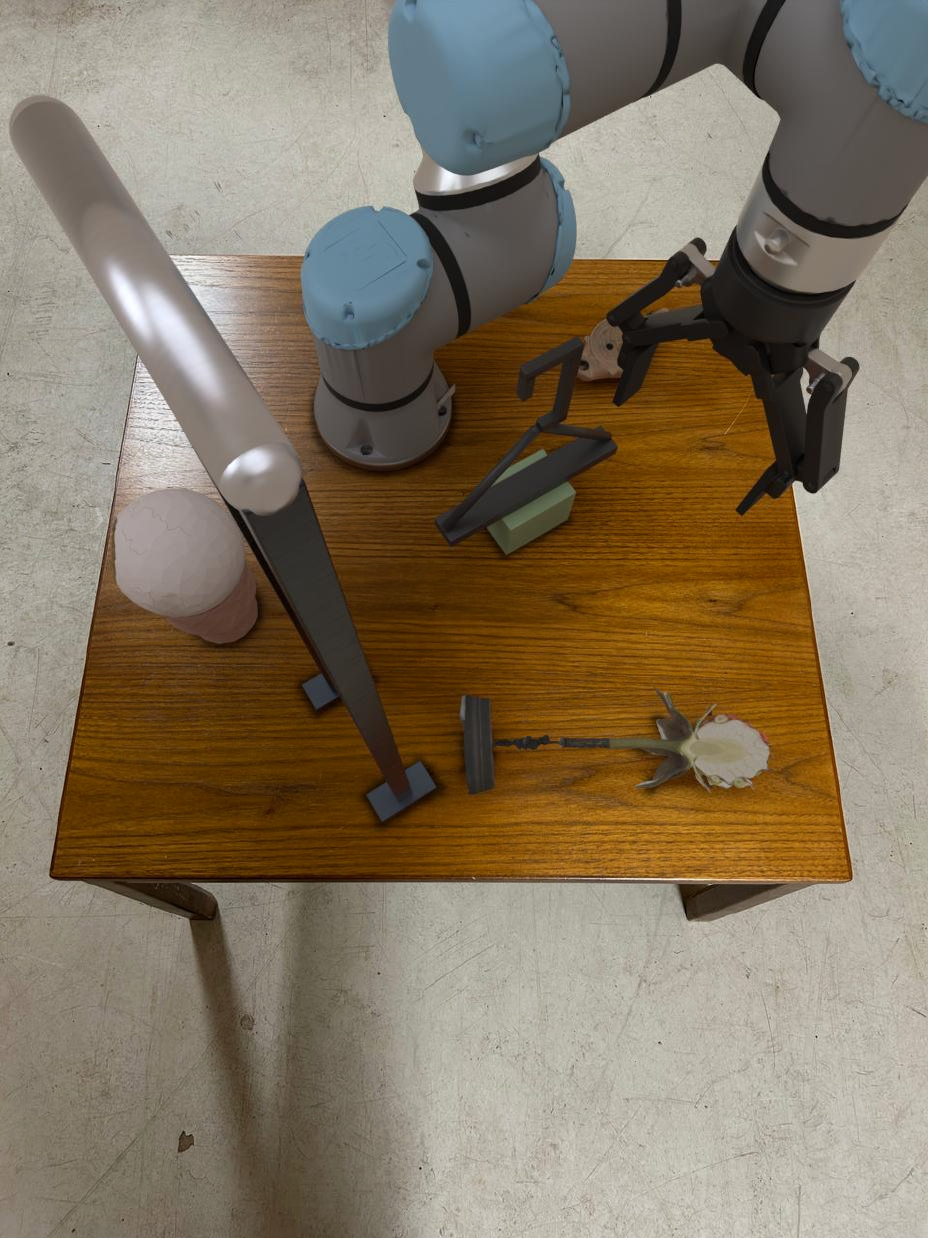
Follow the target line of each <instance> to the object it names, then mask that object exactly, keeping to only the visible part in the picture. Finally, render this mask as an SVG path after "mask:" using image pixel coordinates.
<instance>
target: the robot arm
mask: <svg viewBox="0 0 928 1238" xmlns="http://www.w3.org/2000/svg"><path fill="white" fill-rule="evenodd" d="M378 1H379V3H380V4H381V5H382V7H383V8H384V9H385V12H386V16H387V20H388V28H387V49H388V50H387V51H388V60H389V66H390V70H391V76H392V81H393V84H394V89H395V93H396V95H397V99H398V101H399V104H400V105H401V108H402V110H403V113H404V114H405V115H406V116H407V117H408V118H409V120H410V123H411V125H412V129H413V134H414V136H415V139H416V140H417V142H418V144H419V146H420V150H421V153H422V158H421V161H420V164H419V166H418V168H417V170H416V172H415V174H414V175H413V178H412V185H413V189H414V194H415V196H416V200H417V205H418V209H417V210H416V211H414V212H412V213H410V214H407V213H406V212H404V211H402V210H399V209H397V208H394V207H390V206H384V205H383V207H381V209H380V210H375V207H374V206H373V205H365V206H364V205H363V206H359V207H355V208H352V209H348V210H346V211H344V212H342V213H340V214H338V215H336V216H334V217H333V218H332V219H330V220H329V221H327V222H326V223H325V224H323V226H322V227H321V228H320V229H319V230H317V232H316V233H315V234H314V236H313V237H312V239H311V240H310V241H309V243H308V245H307V247H306V249H305V252H304V255H303V259H302V260H303V261H302V262H301V263H302V264H301V265H300V285H301V290H302V308H303V313H304V317H305V320H306V323H307V325H308V327H309V329H310V333H311V338H312V341H313V345H314V349H315V353H316V358H317V362H318V364H319V365H318V366H319V369H320V370H319V371H320V373H319V374H320V375H319V378H318V383H317V387H316V390H315V393H314V398H313V399H314V400H313V414H314V415H313V416H314V420H315V424H316V427H317V430H318V434H319V436H320V438H321V439H322V441H323V443H324V444H325V445H326V447H327V449H329V450H330V452H331V453H332V454H334V455H335V456H336V457H337V458H338V459H340V460H341V461H343V462H345V463H346V464H348V465H350V466H353V467H355V468H358V469H361V470H365V471H370V472H394V471H399V470H405V469H407V468H410V467H412V466H415V465H417V464H419V463H421V462H423V461H424V460H425V459H427V458H428V457H430V456H431V455H432V454H433V453H434V452H436V451H437V449H438V448H440V446H441V444H442V443H443V442H444V440H445V439H446V436H447V434H448V433H449V429H450V426H451V422H452V396H453V395H454V394H455V392H456V383H454V384H453V385H452V386H451V387H450V388H449V385H448V382H447V380H446V379H445V376H444V375H443V373H442V371H441V369H440V368H439V366H438V364H437V362H436V361H435V351H436V350H438V349H440V348H442V347H444V346H446V345H449V343H452V342H453V341H455V340H457V339H459V338H461V337H463V336H466V335H467V334H469V333H471V332H472V331H475V330H476V329H478V328H481V327H483V326H484V325H486V324H488V323H490V322H493V321H494V320H496V319H498V318H500V317H502V316H504V315H505V314H508V313H509V312H511V311H513V310H516V309H518V308H519V307H521V306H525V305H529V304H531V303H533V302H534V301H535V300H537V299H538V298H539V297H540V296H541V295H542V294H543V293H545V292H547V291H549V290H550V289H552V288H553V287H555V286H556V285H557V284H559V283H560V282H561V281H562V280H563V278H564V277H565V275H566V274H567V273H568V271H569V270H570V268H571V267H572V266H571V265H572V262H573V260H574V257H575V253H576V248H577V237H578V233H577V232H578V231H577V230H578V229H577V226H578V224H577V216H576V208H575V205H574V200H573V197H572V194H571V191H570V190H569V189H565V183H566V182H565V181H566V179H565V178H564V176H563V173H562V172H561V171H560V169H559V168H558V167H557V166H556V165H555V164H554V163H553V162H552V161H551V160H549V159H548V158H546V157H543V156H541V155H540V153H543V151H545V150H548V149H549V148H550V147H551V145H552V144H554V143H556V142H557V141H558V140H560V139H563V138H564V137H567V136H568V135H570V134H572V133H575V132H577V131H579V130H581V129H583V128H584V127H586V126H589V125H591V124H593V123H595V122H597V121H598V120H601V119H603V118H605V117H607V116H609V115H611V114H613V113H615V112H617V111H619V110H622V109H623V108H625V107H627V106H629V105H631V104H634V103H637V102H638V101H639V100H642V99H644V98H645V99H646V98H648V97H651V96H652V95H655V94H656V93H658V92H660V91H662V90H665V89H667V88H669V87H671V86H673V85H675V84H677V83H679V82H681V81H683V80H685V79H687V78H690V77H692V76H694V75H696V74H698V73H700V72H702V71H704V70H706V69H708V68H709V67H712V66H714V65H721V66H724V68H726V69H727V70H728V71H729V72H730V73H732V75H734V77H736V78H737V79H738V80H739V81H740V82H741V83H742V84H743V85H744V86H745V87H746V88H747V89H748V90H749V91H750V92H751V93H752V94H753V95H754V96H755V97H756V98H757V99H759V100H761V101H764V102H765V103H766V104H767V105H768V106H769V107H770V108H772V109H773V110H774V111H775V112H776V113H777V115H778V117H779V122H778V125H777V128H776V131H775V133H774V135H773V138H772V140H771V142H770V145H769V147H768V151H767V152H766V155H765V157H764V160H763V162H762V165H761V166H760V169H759V171H758V173H757V176H756V177H755V180H754V182H753V184H752V187H751V189H750V191H749V193H748V196H747V198H746V200H745V202H744V204H743V207H742V209H741V211H740V214H739V216H738V219H737V223H736V225H735V226H734V228H733V230H732V231H731V233H730V236H729V237H728V239H727V242H726V244H725V246H724V249H723V251H722V253H721V256H720V257H719V260H718V262H717V265H716V267H715V266H714V264H713V263H712V262H710V261H709V260H708V259H707V258H706V256H705V255H706V253H707V250H708V247H707V243H706V241H705V239H703V238H702V237H698V236H697V237H694V238H692V240H690V241H689V242H688V243H687V244H685V245H684V246H682V248H680V249H679V250H678V251H676V252H675V253H674V254H673V255H671V256H670V257H669V258H668V259H667V261H666V263H665V265H664V267H663V269H662V271H661V273H659V274H658V275H656V276H655V277H654V278H653V279H651V280H650V281H648V282H646V283H645V284H644V285H643V286H641V287H639V289H637V290H635V291H634V292H632V293H631V294H630V295H628V296H627V297H626V298H624V299H623V300H622V301H620V303H618V304H617V305H616V306H615V307H613V308H612V309H610V310H609V311H608V312H607V313H606V316H605V317H606V318H605V319H607V321H608V323H609V324H610V325H611V326H612V327H617V326H618V327H619V328H620V330H621V331H622V333H623V334H622V341H623V343H622V346H621V349H620V352H619V355H618V358H617V365H618V366H619V367H620V368H621V369H622V370H623V372H622V375H621V378H619V381H618V384H617V386H616V389H615V393H614V395H613V398H612V400H611V403H612V404H613V405H615V406H616V407H617V408H618V409H619V408H620V407H621V406H623V405H624V404H625V403H626V402H628V400H630V399H631V398H632V397H633V396H634V395H636V394H637V393H638V392H639V391H640V390H641V389H642V386H643V384H644V381H645V379H646V376H647V374H648V371H649V369H650V366H651V364H652V361H653V359H654V357H655V354H656V351H657V349H658V346H659V344H661V343H669V342H675V341H681V340H686V341H687V342H689V343H690V342H696V341H703V340H709V341H710V342H711V344H712V347H711V349H712V350H713V351H715V352H716V353H717V354H718V355H720V356H721V357H723V358H725V359H726V360H729V361H730V362H731V363H732V365H733V366H734V367H735V369H737V371H739V372H740V373H741V374H742V375H744V377H746V378H747V377H748V376H750V379H751V382H752V383H751V384H752V388H753V391H754V396H755V398H756V399H757V400H761V401H762V405H763V410H764V414H765V419H766V423H767V427H768V431H769V436H770V440H771V444H772V450H773V454H774V457H775V461H774V462H773V463H771V464H770V465H769V466H768V467H767V468H766V469H765V470H764V472H763V473H762V474H761V476H760V477H759V478H758V480H757V481H756V482H755V484H754V485H753V486H752V487H751V488H750V489H749V491H748V492H747V494H746V495H745V496H744V498H743V499H742V500H741V501H740V503H739V504H738V505H737V506H736V507H735V509H734V511H735V512H736V513H737V514H739V515H740V516H741V517H743V516H744V515H746V513H748V512H749V510H751V508H753V507H754V506H755V505H756V504H757V503H758V502H759V501H760V500H761V499H762V498H763V497H765V495H768V496H769V497H770V498H771V499H772V500H776V499H779V498H780V497H781V496H782V495H783V494H784V493H785V492H786V491H787V490H788V489H790V488H791V486H792V485H794V483H795V482H799V483H802V487H803V489H804V490H805V491H806V493H809V494H811V495H815V494H817V493H818V492H819V491H820V490H821V489H822V488H823V487H824V486H825V485H826V484H827V483H829V481H830V480H831V479H833V478H834V477H835V476H836V475H837V474H838V473H839V471H840V467H841V466H840V465H841V456H842V449H843V439H844V428H845V418H846V410H847V402H848V392H849V388H850V386H851V384H852V383H853V381H854V379H855V378H856V376H857V374H858V373H859V371H860V369H861V366H860V362H859V361H858V360H857V359H856V358H855V357H853V356H845V357H843V358H842V359H841V360H840V361H838V360H836V359H835V358H833V357H832V356H830V355H829V354H827V353H826V352H824V351H822V350H821V349H820V340H821V335H822V333H823V331H824V330H825V328H826V327H827V325H828V324H829V322H830V321H831V320H832V318H833V317H834V315H835V314H836V312H837V311H838V309H839V308H840V306H841V305H842V303H843V302H844V300H845V299H846V298H847V296H848V294H849V293H850V292H851V290H852V289H853V287H854V286H855V283H856V282H857V280H858V278H860V276H861V275H862V274H863V273H864V271H865V270H866V269H867V267H868V266H869V264H870V263H871V262H872V260H873V258H875V256H876V254H877V252H878V251H879V250H880V248H881V247H882V245H883V243H884V242H885V241H886V239H887V238H888V237H889V234H890V233H891V231H892V230H893V229H894V227H895V226H896V224H897V223H898V221H899V220H900V218H901V216H902V215H903V213H904V212H905V210H906V209H907V208H908V206H909V204H910V203H911V201H912V199H913V197H914V196H915V195H916V193H917V192H918V191H919V189H920V187H921V186H922V185H923V183H924V182H925V181H926V179H927V178H928V0H378ZM696 284H697V285H699V286H700V289H699V290H700V291H699V296H700V301H701V304H695V305H691V306H687V307H681V308H677V309H672V310H669V311H666V312H661V313H656V314H654V310H653V309H652V310H650V311H649V312H648V313H646V314H645V315H643V314H642V313H641V312H642V311H643V310H644V309H646V308H647V307H649V306H651V305H652V304H654V303H655V302H657V301H658V300H660V299H661V298H663V297H665V296H666V295H667V294H669V293H670V292H671V291H672V290H674V289H675V288H677V289H682V288H683V287H686V288H690V287H691V286H692V285H696ZM804 370H805V371H806V372H807V374H808V385H807V386H806V388H805V391H806V393H807V394H808V395H810V397H809V399H808V402H807V408H806V405H805V397H804V394H803V389H802V384H801V383H802V382H801V380H802V378H803V375H804Z"/></svg>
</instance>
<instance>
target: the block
mask: <svg viewBox="0 0 928 1238" xmlns="http://www.w3.org/2000/svg"><path fill="white" fill-rule="evenodd" d="M547 455H548V454H547V452H546V451H545V450H544V448H542V449H539V450H538V451H536V452H535V453H533V454H531V455H529V456H527V457H525V458H524V459H522V460H519V461H518V462H516V463H515V464H512V465H510V466H509V467H508V469H507V470H506V471H505V472H504V473H503V474H502V475H501V476H500V477H499V478H498V479H497V480H496V482H495V483H494V484H493V485H495V484H497V483H499V482H500V481H502V480H504V479H506V478H507V477H509V476H511V475H513V474H515V473H516V472H518V471H520V470H522V469H524V468H525V467H527V466H529V465H531V464H532V463H534V462H536V461H538V460H540V459H541V458H543V457H545V456H547ZM493 485H492V486H493ZM576 495H577V492H576V490H575V489H574V487H573V486H572V485H571V484H570V482H569V481H567V482H565V483H564V484H562V485H560V486H558V487H557V488H555V489H553V490H551V491H550V492H548V493H546V494H544V495H543V496H541V497H539V498H537V499H536V500H534V501H532V502H530V503H529V504H527V505H525V506H523V507H522V508H520V509H518V510H516V511H515V512H513V513H511V514H509V515H508V516H506V517H504V518H502V519H501V520H499V521H497V522H495V523H494V524H492V525H490V526H488V527H487V528H486V529H487V531H488V532H489V533H490V535H491V536H492V537H493V539H494V540H495V542H496V543H497V544H498V546H499V547H500V549H501V550H502V552H503V553H504V554H505V555H506V556H509V554H511V553H513V552H515V551H517V550H518V549H520V548H521V547H523V546H525V545H526V544H529V543H530V542H532V541H533V540H536V539H537V538H539V537H540V536H542V535H544V534H546V533H548V532H549V531H550V530H553V529H554V528H555V527H557V526H560V525H561V524H562V523H564V522H566V521H568V520H569V517H570V514H571V510H572V507H573V504H574V501H575V497H576Z"/></svg>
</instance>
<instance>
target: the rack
mask: <svg viewBox="0 0 928 1238" xmlns="http://www.w3.org/2000/svg"><path fill="white" fill-rule="evenodd" d="M8 122H9V123H8V130H9V131H8V132H9V137H10V142H11V144H12V146H13V149H14V151H15V153H16V154H17V156H18V158H19V159H20V161H21V163H22V164H23V166H24V167H25V169H26V171H27V173H28V174H29V176H30V178H31V180H32V181H33V183H34V184H35V186H36V188H37V189H38V191H39V194H41V197H43V199H44V201H45V203H46V205H47V206H48V208H49V210H50V211H51V213H52V214H53V216H54V218H55V219H56V221H57V223H58V225H59V226H60V227H61V229H62V231H63V233H64V235H65V236H66V237H67V240H68V241H69V243H70V245H71V246H72V249H74V251H75V252H76V255H77V257H79V259H80V261H81V263H82V264H83V266H84V267H85V269H86V271H87V273H88V274H89V276H90V278H91V279H92V281H93V283H94V284H95V287H97V289H98V291H99V293H100V295H101V296H102V297H103V299H104V302H106V304H107V306H108V308H109V309H110V312H111V313H112V314H113V315H114V317H115V319H116V322H118V324H119V326H120V328H121V329H122V332H123V333H124V334H125V336H126V337H127V339H128V341H129V343H130V344H131V346H132V348H133V349H134V351H135V353H136V355H137V356H138V357H139V359H140V361H141V363H142V364H143V366H144V368H145V370H146V371H147V372H148V374H149V376H150V378H151V379H152V381H153V383H154V384H155V386H156V388H157V389H158V391H159V392H160V394H161V397H163V399H164V401H165V402H166V404H167V406H168V408H169V409H170V411H171V413H172V414H173V416H174V418H175V419H176V421H177V423H178V425H179V426H180V429H181V430H182V432H183V434H184V435H185V437H186V439H187V440H188V442H189V444H190V446H191V447H192V449H193V452H194V453H195V455H196V456H197V458H198V460H199V462H200V463H201V465H202V467H203V469H204V470H205V472H206V474H207V476H208V477H209V479H210V481H211V483H212V484H213V486H214V488H215V489H216V491H217V494H218V495H219V497H220V498H221V501H222V502H223V503H224V505H225V507H226V510H227V511H228V513H229V514H230V515H231V516H232V517H233V519H234V521H235V523H236V525H237V526H238V528H239V530H240V532H241V534H242V537H243V540H245V542H246V544H247V546H248V548H249V549H250V551H251V553H252V554H253V557H254V558H255V560H256V561H257V564H258V565H259V567H260V569H261V571H262V572H263V574H264V576H265V577H266V579H267V581H268V583H269V584H270V586H271V588H272V589H273V591H274V593H275V595H276V596H277V598H278V600H279V602H280V604H281V606H282V607H283V609H284V611H285V612H286V614H287V616H288V618H289V619H290V621H291V623H292V625H293V626H294V628H295V630H296V631H297V633H298V635H299V637H300V639H301V640H302V642H303V644H304V646H305V647H306V649H307V651H308V652H309V654H310V656H311V658H312V659H313V661H314V664H315V665H316V666H317V668H318V671H319V672H320V673H319V674H317V675H316V676H314V677H312V678H310V679H308V680H307V681H305V682H303V683H302V684H301V687H302V689H303V690H304V692H305V694H306V695H307V697H308V699H309V700H310V702H311V704H312V706H313V707H314V709H315V711H316V712H317V713H321V712H322V711H323V710H326V709H327V708H328V707H330V706H332V705H334V704H335V703H337V702H339V701H340V700H341V701H342V703H343V705H344V707H345V709H346V710H347V712H348V714H349V716H350V718H351V719H352V722H353V723H354V725H355V727H356V729H357V731H358V733H359V735H360V736H361V738H362V740H363V741H364V743H365V746H366V747H367V749H368V751H369V753H370V755H371V756H372V758H373V760H374V762H375V764H376V766H377V767H378V769H379V771H380V773H381V775H382V776H383V778H384V780H385V782H383V783H382V784H380V785H378V786H377V787H375V788H374V789H372V790H370V791H369V792H368V793H366V794H365V796H366V798H367V800H368V801H369V803H370V804H371V807H372V808H373V810H374V812H375V813H376V816H377V817H378V819H379V820H380V822H381V823H382V824H384V823H386V822H388V821H389V820H391V819H393V818H394V817H396V816H397V815H399V814H401V813H402V812H404V811H405V810H406V809H408V808H410V807H411V806H413V805H415V804H416V803H417V802H419V801H421V800H422V799H424V798H425V797H427V796H428V795H430V794H432V793H433V792H435V791H436V790H437V789H438V786H437V784H436V782H435V781H434V780H433V778H432V776H431V775H430V773H429V772H428V770H427V768H426V766H425V765H424V763H423V762H422V760H418V761H417V762H415V763H414V764H412V765H410V766H409V767H407V768H405V765H404V763H403V760H402V757H401V755H400V751H399V749H398V746H397V743H396V740H395V738H394V737H395V736H394V733H393V731H392V729H391V726H390V722H389V720H388V717H387V714H386V711H385V709H384V706H383V703H382V700H381V697H380V694H379V691H378V687H377V686H376V682H375V680H374V677H373V674H372V671H371V668H370V665H369V663H368V660H367V659H368V658H367V656H366V653H365V650H364V648H363V645H362V642H361V639H360V637H359V634H358V630H357V628H356V624H355V622H354V619H353V615H352V613H351V610H350V608H349V605H348V602H347V599H346V596H345V593H344V590H343V588H342V585H341V583H340V582H341V581H340V578H339V576H338V573H337V570H336V567H335V564H334V560H333V559H332V556H331V553H330V550H329V547H328V544H327V541H326V538H325V535H324V532H323V530H322V527H321V524H320V521H319V519H318V515H317V512H316V509H315V506H314V504H313V500H312V498H311V495H310V492H309V489H308V487H307V484H306V481H305V480H304V469H303V464H302V460H301V458H300V456H299V454H298V452H297V450H296V448H295V447H294V445H293V444H292V442H291V441H290V439H289V437H288V436H287V434H286V433H285V432H284V430H283V428H282V426H281V425H280V424H279V422H278V421H277V418H275V416H274V414H273V413H272V411H271V410H270V408H269V407H268V405H267V403H266V402H265V401H264V399H263V398H262V396H261V394H260V393H259V391H258V390H257V389H256V388H257V387H255V385H254V384H253V382H252V381H251V379H250V377H249V376H248V375H247V372H245V369H244V367H242V365H241V363H240V362H239V361H238V358H236V355H234V353H233V352H232V350H231V348H230V347H229V345H228V344H227V342H226V341H225V339H224V338H223V336H222V334H221V332H220V331H219V330H218V328H217V326H216V325H215V323H214V322H213V320H212V318H211V317H210V316H209V314H208V313H207V311H206V309H205V308H204V306H203V304H201V302H200V301H199V299H198V298H197V295H196V294H195V293H194V291H193V289H192V288H191V286H190V285H189V283H188V282H187V280H186V278H185V277H184V276H183V274H182V273H181V271H180V269H179V268H178V266H177V265H176V263H175V262H174V260H173V258H172V257H171V256H170V254H169V252H168V251H167V249H166V248H165V247H164V245H163V243H162V241H161V240H160V239H159V237H158V236H157V234H156V233H155V231H154V229H153V228H152V227H151V225H150V223H149V222H148V220H147V219H146V217H145V216H144V214H143V212H142V211H141V209H140V208H139V206H138V204H137V203H136V202H135V200H134V198H133V197H132V196H131V194H130V193H129V191H128V189H127V188H126V186H125V184H124V183H123V182H122V180H121V179H120V177H119V175H118V174H117V173H116V171H115V169H114V168H113V166H112V165H111V163H110V162H109V160H108V159H107V156H106V155H105V154H104V152H103V151H102V149H101V148H100V146H99V145H98V143H97V141H96V140H95V138H94V137H93V136H92V133H91V132H90V131H89V130H88V128H87V126H86V124H85V123H84V122H83V120H82V119H81V117H80V116H79V115H78V114H77V113H76V111H75V110H74V109H73V108H72V107H70V106H69V105H68V104H66V103H65V102H63V101H61V100H60V99H57V98H56V97H53V96H50V95H42V94H41V95H40V94H38V95H37V94H36V95H31V96H27V97H25V98H23V99H22V100H20V101H19V102H18V103H17V104H16V106H15V107H14V108H13V110H12V113H11V115H10V116H9V121H8Z"/></svg>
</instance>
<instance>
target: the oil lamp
mask: <svg viewBox="0 0 928 1238" xmlns="http://www.w3.org/2000/svg"><path fill="white" fill-rule="evenodd" d="M666 311H670V310H669V308H665V307H664V308H660V309H658V310H656V311H655V312H653V314H656V313H661V312H666ZM622 334H623V333H622V331H621V330H620V328H619V327H618V326H617V327H612V326H611V325H610V324H609V323H608V321H607V319H606V318H605V319H603V320H602V321H600V322H598V323H597V324H596V325H595V327H594V328H593V329H592V332H591V333H590V335H585V336H583V343H584V344H585V345H584V350H583V354H582V358H581V362H580V366H579V370H578V374H577V378H578V379H579V380H580V381H582V382H591V381H594V380H595V381H596V380H604V379H620V378H621V375H622V372H623V370H622V369H621V368H620V367H619V366H618V365H617V358H618V355H619V352H620V349H621V346H622V343H623V341H622Z"/></svg>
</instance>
